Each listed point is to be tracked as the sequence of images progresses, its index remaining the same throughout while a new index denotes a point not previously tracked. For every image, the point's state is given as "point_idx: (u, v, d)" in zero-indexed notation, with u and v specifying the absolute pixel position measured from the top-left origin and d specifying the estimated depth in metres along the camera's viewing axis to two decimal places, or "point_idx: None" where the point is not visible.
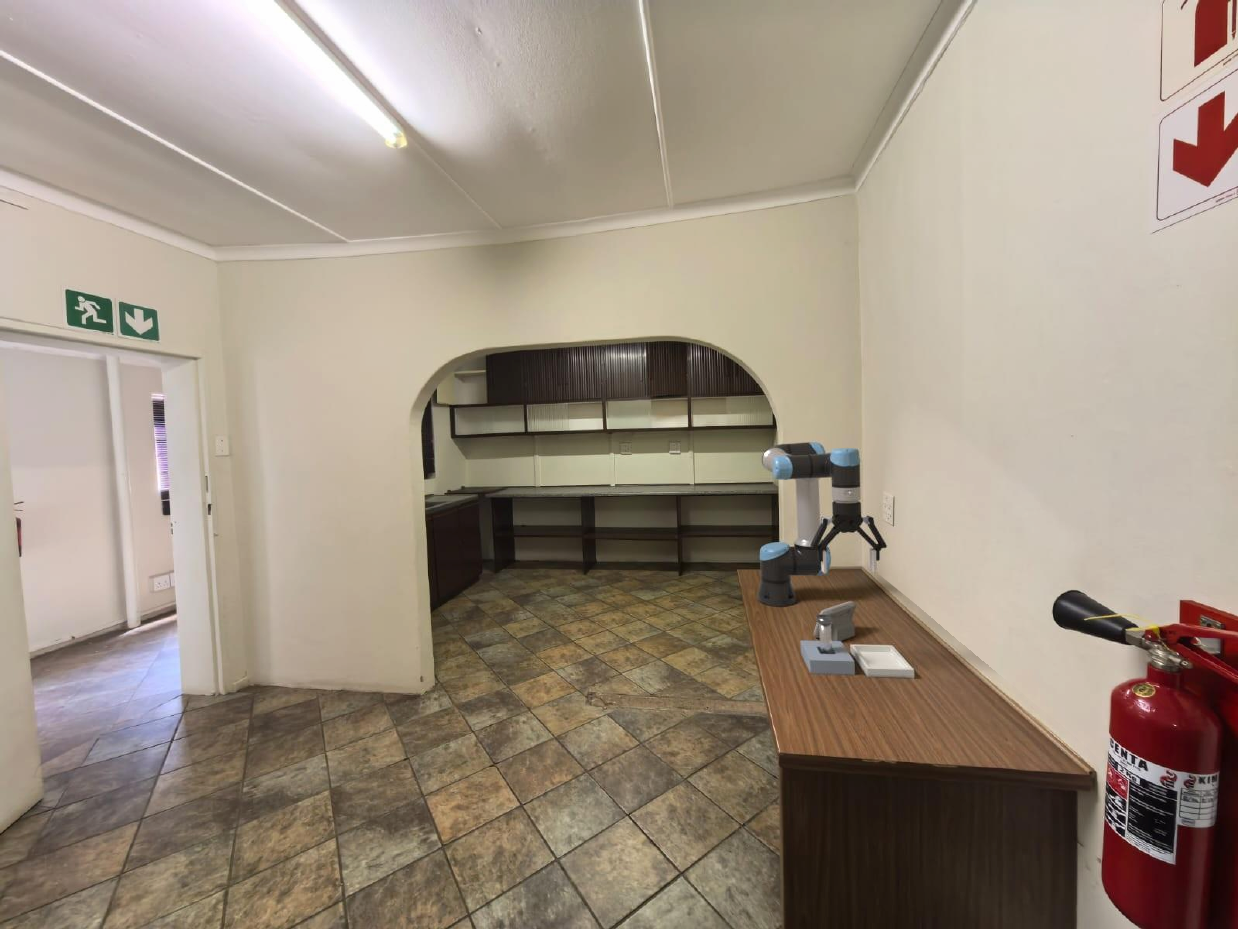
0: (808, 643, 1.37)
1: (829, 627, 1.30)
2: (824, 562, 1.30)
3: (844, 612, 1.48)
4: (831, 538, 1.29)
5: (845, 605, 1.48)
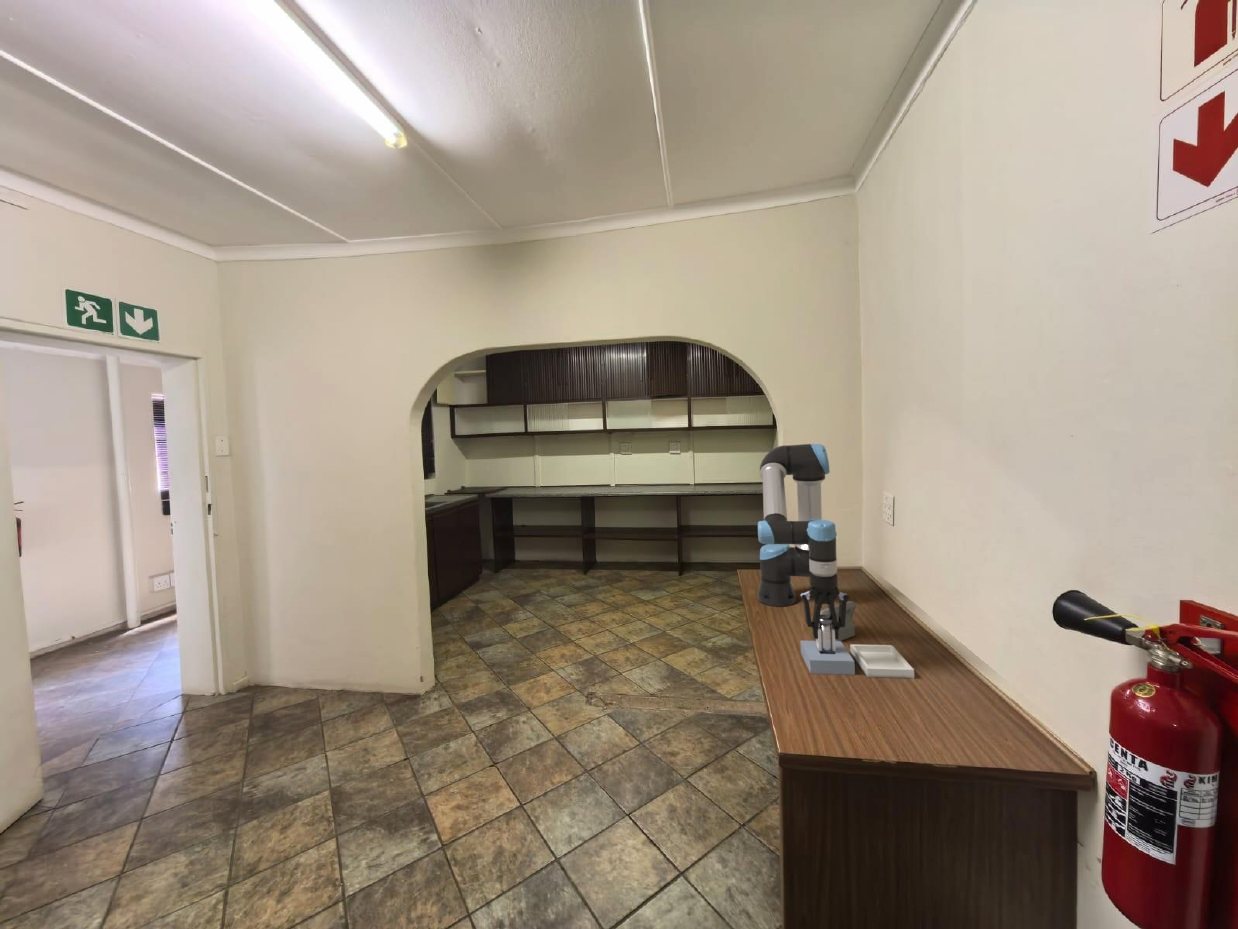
0: (808, 643, 1.37)
1: (829, 627, 1.30)
2: (819, 640, 1.31)
3: None
4: (818, 613, 1.31)
5: None
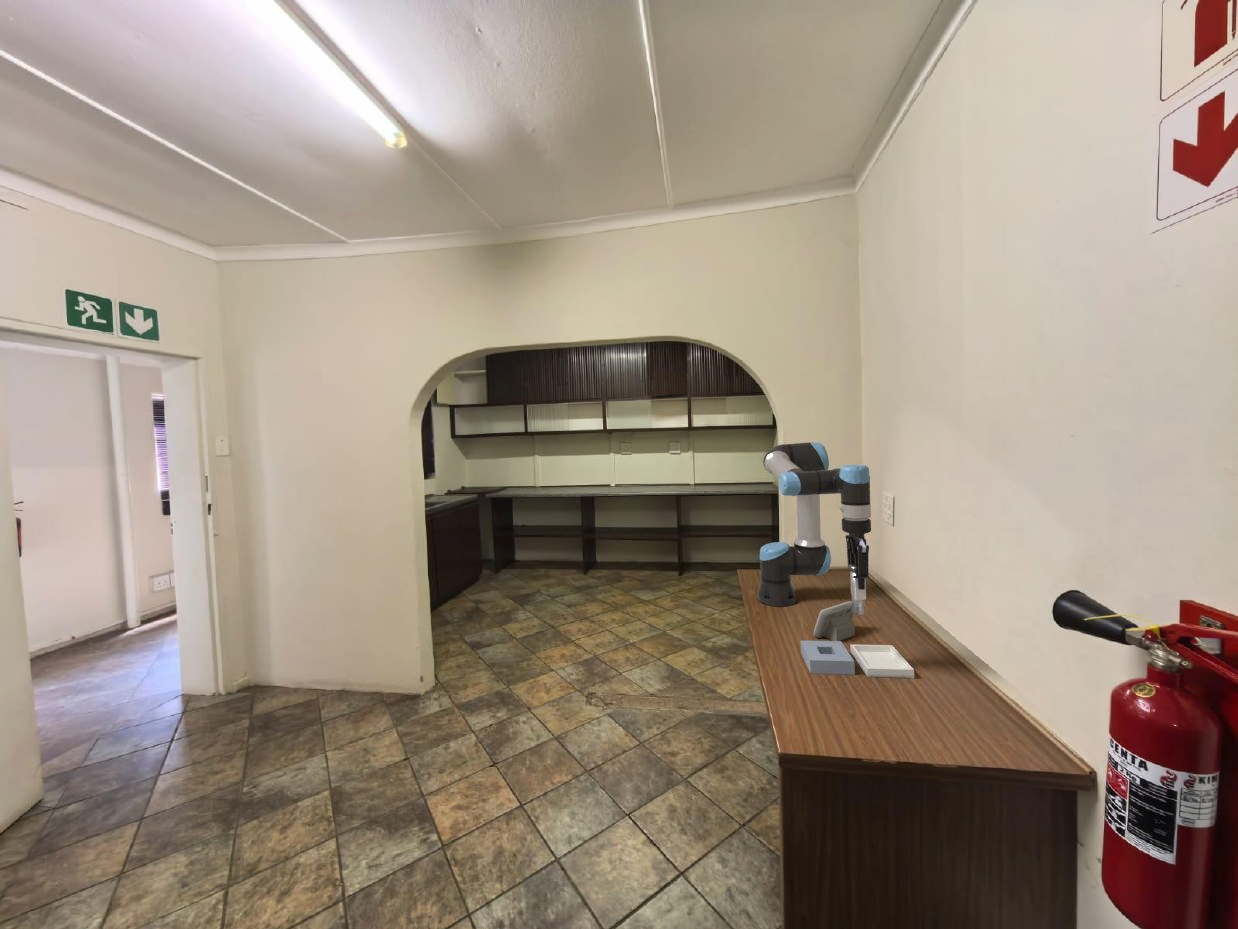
0: (808, 643, 1.37)
1: (854, 574, 1.28)
2: None
3: (844, 611, 1.48)
4: (850, 556, 1.31)
5: (845, 605, 1.48)
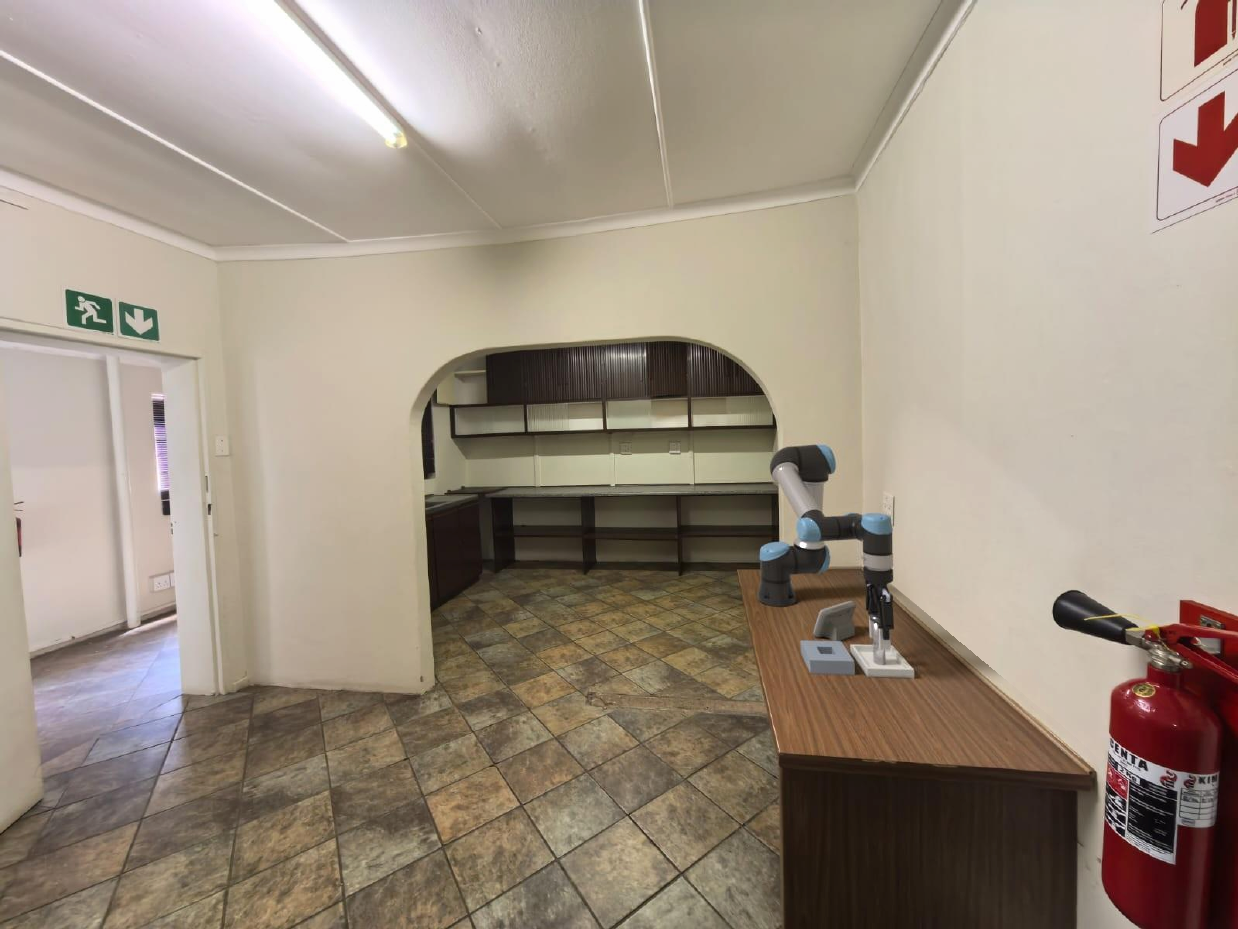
0: (808, 643, 1.37)
1: (876, 625, 1.28)
2: (869, 626, 1.33)
3: (844, 611, 1.48)
4: (870, 602, 1.32)
5: (845, 605, 1.49)
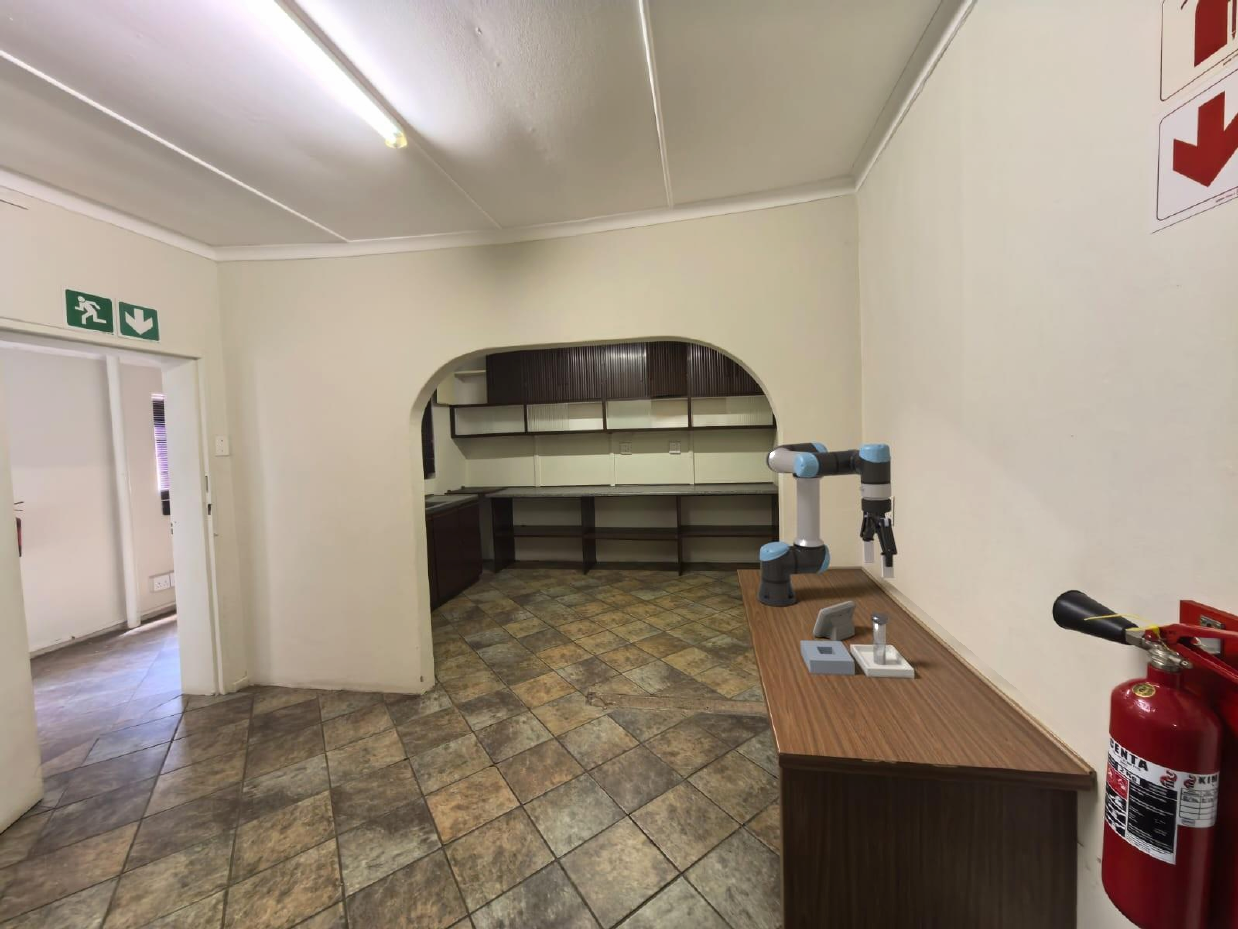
0: (808, 643, 1.37)
1: (877, 625, 1.28)
2: (864, 552, 1.35)
3: (844, 611, 1.48)
4: (866, 530, 1.32)
5: (845, 604, 1.49)
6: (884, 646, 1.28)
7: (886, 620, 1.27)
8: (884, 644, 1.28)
